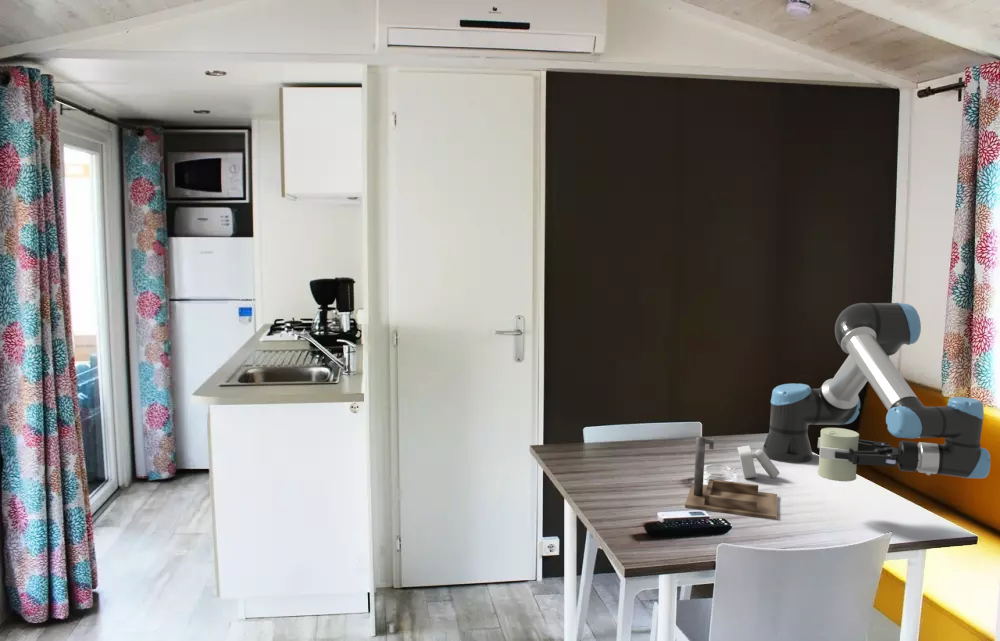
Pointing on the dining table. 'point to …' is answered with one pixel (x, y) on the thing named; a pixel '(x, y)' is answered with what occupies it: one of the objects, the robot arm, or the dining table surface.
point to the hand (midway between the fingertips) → (819, 447)
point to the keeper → (727, 492)
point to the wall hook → (748, 462)
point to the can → (833, 467)
